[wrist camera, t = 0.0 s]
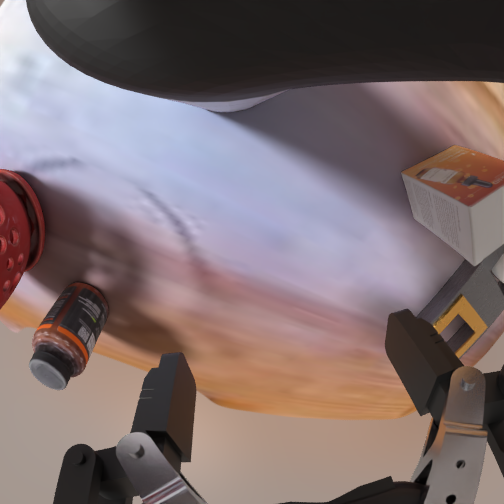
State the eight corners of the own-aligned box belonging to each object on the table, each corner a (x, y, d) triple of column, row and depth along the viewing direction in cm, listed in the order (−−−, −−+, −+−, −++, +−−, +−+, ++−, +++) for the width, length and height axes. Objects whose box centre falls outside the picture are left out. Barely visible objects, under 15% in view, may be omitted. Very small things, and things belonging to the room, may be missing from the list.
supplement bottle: (59, 305, 29) (16, 372, 19) (73, 270, 27) (21, 339, 17) (100, 331, 31) (68, 405, 21) (118, 299, 29) (81, 378, 19)
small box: (454, 143, 24) (527, 167, 15) (464, 190, 26) (530, 225, 17) (398, 171, 25) (469, 206, 16) (412, 220, 28) (475, 268, 18)
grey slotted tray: (510, 193, 27) (524, 200, 24) (531, 248, 31) (542, 256, 28) (386, 346, 35) (394, 360, 33) (429, 370, 40) (436, 382, 37)
